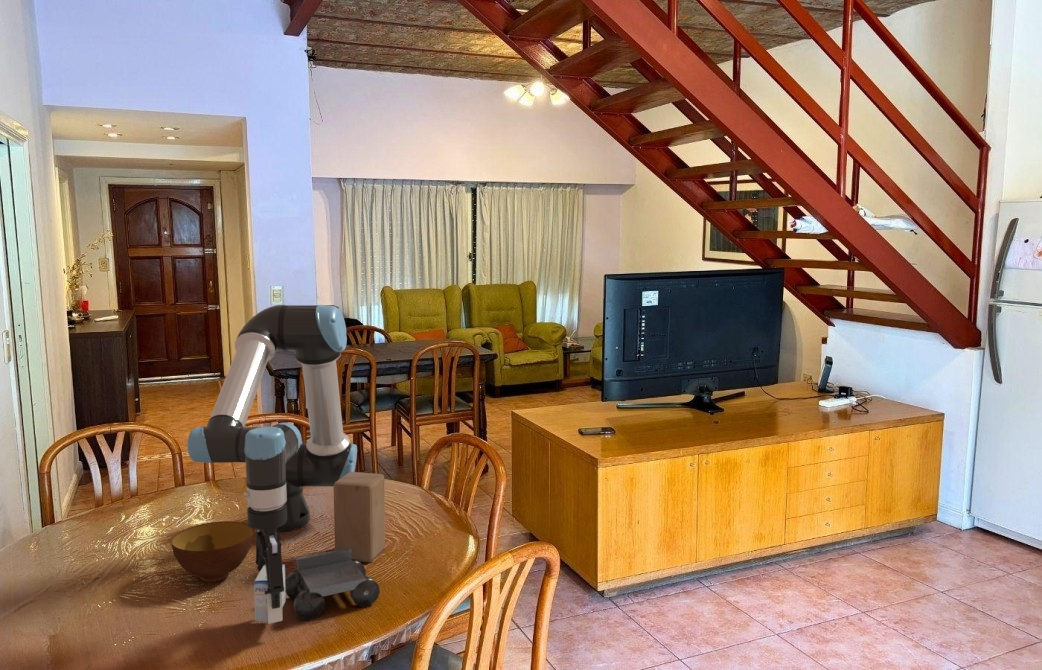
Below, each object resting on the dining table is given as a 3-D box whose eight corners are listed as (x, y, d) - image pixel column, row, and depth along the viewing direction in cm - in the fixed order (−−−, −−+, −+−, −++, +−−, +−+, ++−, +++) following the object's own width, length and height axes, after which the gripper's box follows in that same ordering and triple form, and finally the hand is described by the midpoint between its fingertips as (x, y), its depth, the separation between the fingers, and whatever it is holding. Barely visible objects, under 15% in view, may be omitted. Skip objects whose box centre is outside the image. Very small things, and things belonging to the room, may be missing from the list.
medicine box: (264, 603, 157) (263, 563, 156) (286, 602, 157) (285, 563, 156) (254, 622, 149) (252, 581, 148) (277, 621, 149) (276, 580, 148)
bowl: (246, 590, 169) (244, 548, 167) (163, 596, 166) (161, 553, 165) (260, 557, 186) (258, 519, 185) (185, 562, 183) (183, 523, 182)
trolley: (283, 598, 165) (282, 560, 164) (363, 581, 174) (362, 544, 173) (296, 623, 155) (294, 582, 154) (379, 603, 164) (379, 564, 162)
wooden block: (371, 564, 183) (370, 485, 180) (333, 560, 185) (331, 482, 182) (386, 548, 193) (385, 473, 190) (350, 544, 195) (349, 470, 192)
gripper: (238, 491, 158) (242, 593, 160) (257, 526, 139) (261, 640, 142) (275, 486, 161) (278, 585, 164) (298, 519, 143) (301, 630, 145)
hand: (270, 610), depth 153 cm, fingers closed on medicine box, 9 cm apart
